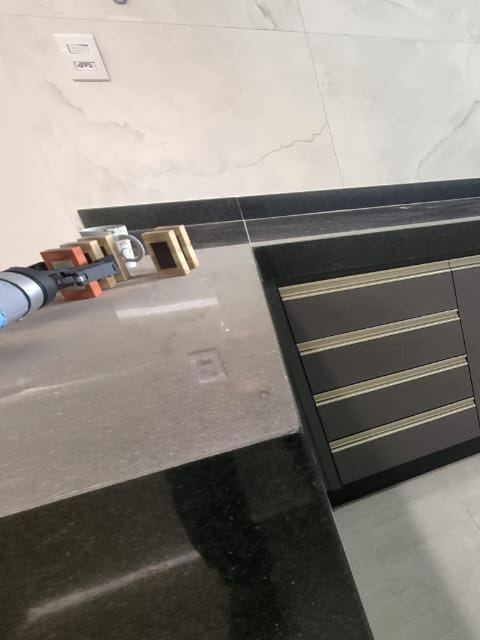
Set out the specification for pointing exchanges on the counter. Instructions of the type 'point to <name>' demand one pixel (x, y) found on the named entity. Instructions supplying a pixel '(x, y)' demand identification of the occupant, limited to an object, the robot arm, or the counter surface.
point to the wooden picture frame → (170, 250)
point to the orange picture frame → (69, 260)
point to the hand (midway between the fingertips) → (80, 264)
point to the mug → (118, 242)
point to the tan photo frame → (100, 248)
